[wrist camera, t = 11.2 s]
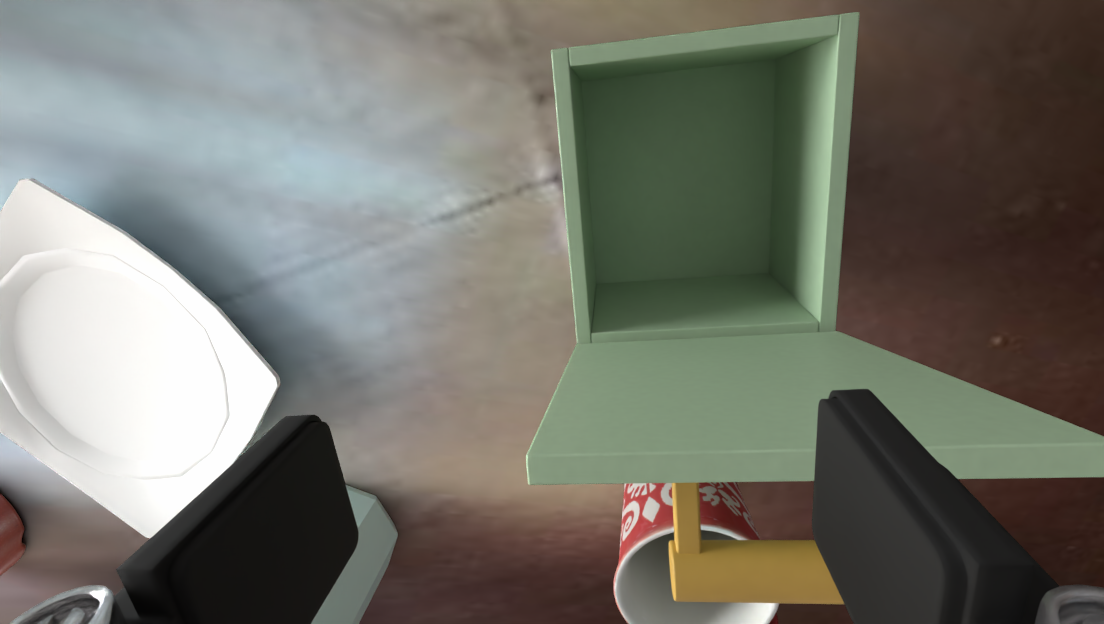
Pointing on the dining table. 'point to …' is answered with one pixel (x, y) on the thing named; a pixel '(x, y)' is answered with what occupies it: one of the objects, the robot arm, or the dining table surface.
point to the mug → (647, 556)
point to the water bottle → (361, 562)
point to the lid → (770, 438)
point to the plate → (118, 362)
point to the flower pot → (10, 536)
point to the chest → (707, 179)
